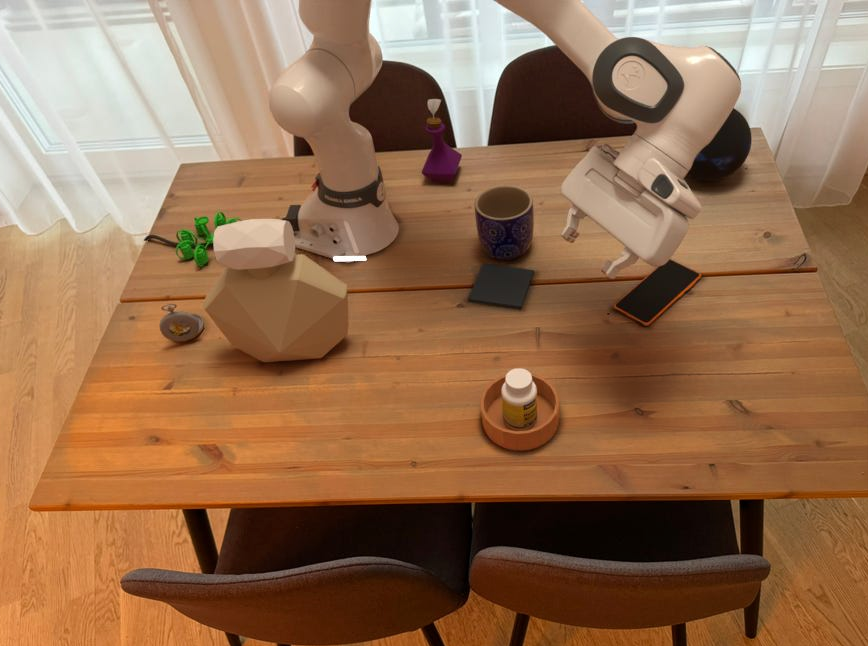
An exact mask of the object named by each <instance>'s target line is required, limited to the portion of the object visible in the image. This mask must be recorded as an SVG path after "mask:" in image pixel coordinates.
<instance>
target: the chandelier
mask: <svg viewBox="0 0 868 646" xmlns="http://www.w3.org/2000/svg"><path fill="white" fill-rule="evenodd" d="M237 220H238V221H243V220H242V219H241V218H240V217H231V218H230V219H228V220H227V218H226V216H225V213H224V212H223V211H217V212H216V213H215V215H214V217H213V224H214V228H215V229H214V231H213V233H212V234H210V231H209V229H208V227H207V224H209V221H210V219H209V217H208V216H207V215H206V216H204V215H203V216H200V217H198V216H195V217H194V221H193V223H194V228H195V230H196V232H197V234H198V235H200V236H204V237H198V236H196V235H197V234H195V233H194V232H192V231H191V230H189V229H186V228H181V229H178V230H177V232H176V234H175V237H176V239H177V241H178V243H179V244H178V245H177V246H175V255H176V256H177V257H178V258H179V259H180V260H183V261H187V260H190V259H193V258H194V262H195V264H196V266H197V267H204V266H205V265H206V264H207V263H208V262H209V257H208V250H207V248H208V247H209V246H208V244H209V243H213V238H214V232H215V230H216V228H217V227H218V226H222V225H226V224H230V223H234V222H238V221H237ZM179 233H180V234H179ZM198 240H204V241H201V242H199V243H198ZM202 243H207V245H206V246H205V247H204V246H203V245H200V244H202ZM192 244H194V245H195V247H194V250H193V247H191V246H190V245H192ZM196 244H197V245H196ZM200 246H201V247H200ZM179 249H180V252H181V254H182V256H183V257H182V256H180V255H179V252H178V250H179Z"/></svg>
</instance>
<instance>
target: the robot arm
mask: <svg viewBox="0 0 868 646" xmlns="http://www.w3.org/2000/svg"><path fill="white" fill-rule="evenodd" d="M492 1H493V2H495V3H496V4H498V5H500V6H501V7H503V8H505V9H506V10H508V11H509V12H511V13H513V14H515V15H517V16H518V17H520V18H522V19H523V20H525V21H526V22H528V23H530V24H531V25H532V26H534V27H536V29H538V30H539V31H540V32H542V33H543V34H544V35H545V36H546V37H547V38H548V39H550V41H551V42H552V43H553V44H554V45H555V46H556V47H557V48H558V49H559V50H560V51H561V52H562V53H563V54H564V55H565V56H566V57H567V58H568V59H569V60H570V61H571V62H572V63H573V64H574V65H575V66H576V67H577V68H578V69H579V71H580V72H581V73H582V74H583V75H584V76H585V78H586V79H587V81H588V83H589V85H590V88H591V91H592V93H593V98H594V100H595V103H596V104H597V106H598V108H599V110H600V111H601V112H602V113H603V114H604V115H605V116H606V117H607V118H608V119H610V120H612V121H614V122H616V123H618V124H625V125H627V124H628V125H629V124H630V125H631V124H635V125H636V129H635V131H634V132H633V134H632V135H631V136H630V137H629V139H628V141H627V142H626V143H625V145H624V146H623V148H622V149H621V151H619V150H616V149H614V148H613V147H612V146H611V145H610V144H608V143H603V144H596V145H593V146H592V147H591V148H590V149H589V150H588V152H587V154H586V155H585V156H583V158H581V160H580V161H579V162H578V163H577V164H576V166H575V167H574V168H573V169H572V170H571V171H570V172H569V174H568V175H567V176H566V178H565V179H564V180H563V182H562V183H561V186H560V195H561V196H563V197H564V199H566V200H568V202H570V203H571V204H572V205H571V207H570V208H569V210H568V212H567V218H566V225H565V227H564V228H563V229H562V231H561V233H560V237H562V238H563V240H565V242H568V243H570V244H574V242H575V241H576V239H577V238H578V237H579V236H580V232H579V231H578V227H579V223H580V220H584V219H585V218H586V216H587V217H588V218H590V219H591V220H592V221H593V222H595V223H596V224H597V225H598V226H599V227H601V228H602V229H603V230H604V231H606V232H607V233H608V234H609V235H611V236H612V238H614V239H616V241H618V242H619V243H620V244H622V245H623V246H624V248H623V249H622V251H621V253H620V255H622V256H621V257H619V258H618V259H616V260H614V261H610V260H607V261H606V262H605V263H604V266H602V267H601V272H602V273H603V274H604V275H605V276H606V277H607V278H609V279H611V280H614V279H615V278H616V277H618V275H619V274H620V272H621V271H622V270H624V269H626V268H628V267H630V266H632V265H634V264H636V263H637V262H638V261H639V259H640V260H642V261H643V262H644V263H646V264H647V265H649V266H651V267H653V268H657V267H659V266H662V265H664V264H666V263H667V262H668V261H669V259H671V258H672V257H673V255H674V254H675V253H676V251H677V250H678V249H679V247H680V246H681V244H682V242H683V241H684V239H685V237H686V236H687V234H688V231H689V228H690V222H689V219H691V220H693V219H694V220H695V218H697V217H698V216H699V214H700V213H701V211H702V209H703V208H702V205H701V203H700V201H699V200H698V198H697V196H696V195H695V194H694V192H693V190H691V188H690V186H689V184H688V183H687V181H686V179H684V178H685V177H687V175H688V174H687V173H688V171H689V170H690V169H691V167H692V164H693V162H694V159H695V157H696V156H697V154H698V153H699V152H700V151H701V150H702V149H703V148H704V147H705V146H707V145H708V144H709V143H710V142H711V141H712V139H713V138H714V136H715V135H716V134H717V132H718V131H719V130H720V128H721V127H722V125H723V124H724V122H725V121H726V119H727V118H728V116H729V115H730V113H731V111H732V110H733V108H734V109H735V106H736V104H737V102H738V100H739V97H740V95H741V92H742V82H741V77H740V75H739V73H738V72H737V70H736V68H735V67H734V66H733V65H732V64H731V62H730V61H729V60H727V58H725V57H724V55H722V54H721V53H720V52H718V51H717V50H716V49H714V48H712V47H711V46H708V45H701V46H693V47H692V46H691V47H688V46H686V47H685V46H674V45H668V44H664V43H660V42H659V43H658V42H655V41H654V40H653V41H652V40H649V39H646V38H642V37H637V36H626V37H622V38H618V37H616V36H615V35H614V34H613V32H611V30H609V29H608V28H607V27H606V25H605V24H603V22H602V21H601V20H600V19H599V18H598V17H597V16H596V15H595V14H594V13H593V11H591V10H590V9H589V8H588V7H587V6H586V5H585V4H584V3H583V2H582V1H581V0H492ZM372 2H373V0H298V16H299V19H300V21H301V23H302V24H303V26H304V27H305V28H306V29H307V30H308V32H309V33H310V34H312V35H313V39H312V42H311V44H310V45H309V48H308V49H307V50H306V52H305V53H303V54H302V55H301V56H300V57H299V58H298V59H296V60H295V61H294V62H292V63H291V64H290V65H289V66H288V67H286V68H285V69H284V70H283V71H282V72H281V74H280V75H279V76H278V77H277V79H276V80H275V82H274V83H273V85H272V86H271V88H270V89H269V91H268V95H267V105H268V109H269V112H270V115H271V116H272V118H273V120H274V121H275V122H276V124H277V125H278V126H279V127H280V129H282V130H284V131H285V132H287V133H288V134H290V135H292V136H295V137H298V138H303V139H304V140H305V142H307V143H308V145H309V146H310V148H311V150H312V153H313V155H314V158H315V159H314V160H315V163H316V166H317V169H318V171H319V173H317V174H316V176H315V178H314V181H313V183H312V184H311V186H310V188H311V189H312V190H311V193H310V194H308V196H307V197H306V198H305V199H304V201H303V202H302V204H289V208H288V211H287V213H286V216H285V217H283V218H281V219H280V220H285V221H289V222H290V224H291V226H292V228H293V233H294V238H295V249H296V248H297V249H300V250H303V251H306V252H310V253H313V254H316V255H320V256H322V257H326V258H328V259H332V260H333V261H334V262H343V263H346V264H349V263H353V262H354V261H355V262H357V261H358V262H359V261H367V257H366V256H368V255H371V254H375V253H377V252H380V251H382V250H384V249H385V248H387V247H389V245H391V244H392V243H393V242H394V241H395V240H396V238H397V236H398V234H399V231H400V227H399V223H398V221H397V220H396V218H395V217H394V214H393V212H392V210H391V207H390V205H389V203H388V200H387V196H386V186H385V182H384V178H383V177H384V176H383V173H382V169H381V166H380V165H379V164H378V160H377V155H376V150H375V145H374V141H373V140H374V139H373V137H372V134H371V133H370V131H369V130H368V129H367V128H366V127H364V125H361V124H360V123H358V122H355V121H352V120H351V118H350V107H351V105H352V104H353V103H354V102H355V101H356V100H357V99H359V98H360V96H361V95H363V94H364V93H365V92H366V91H367V90H368V89H369V88H370V87H371V85H372V84H373V82H374V81H375V79H376V78H377V76H378V74H379V72H380V71H381V69H382V66H383V57H384V56H383V52H382V48H381V46H380V44H379V42H378V41H377V39H376V38H375V36H374V35H372V33H371V32H370V16H371V10H372V4H373V3H372ZM687 170H688V171H687ZM150 239H154V240H158V241H160V242H162V243H165V244H167V245H170V246H174V247H177V245H178V244H179V243H180V242H175V241H172V240H168V239H166V238H164V237H162V236H159V235H156V234H149V235H146V237H144V238H143V241H144V242H148V241H149V240H150ZM197 244H198V243H196V245H197ZM200 245H203V246H204V247H206V245H207V242H204V243H202V244H200ZM190 246H191V247H192V248H196V247H195V245H194V244H192V245H190ZM209 246H214V245H213V243H209V244H208V246H207V247H209ZM199 248H202V247H201V246H200V247H199Z"/></svg>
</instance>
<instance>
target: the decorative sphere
mask: <svg viewBox="0 0 868 646" xmlns="http://www.w3.org/2000/svg"><path fill="white" fill-rule="evenodd" d="M752 140H753V138H752V130H751V126H750V124H749V122H748V120H747V119H746V117H745V116H744V115H743V114H742V113H741V112H740V111H739V110H737V109H736V108H735V107H734V108H733V110H732V111H731V113H730V115H729V116H728V118H727V119H726V121H725V122H724V124H723V125H722V127H721V128H720V130H719V131H718V132H717V134H716V135H715V136H714V138H713V139H712V141H711V142H710V143H709V144H708V145H707V146H705V147H704V148H703V149H702V150H701V151H700V152H699V153H698V154H697V156H696V157H695V159H694V162H693V164H692V167H691V169H690V170H689V171H688V170H687V171H688V173H687V174H686V175H687V176H689V177H690V178H693V179H695V180H699V181H702V182H715V181H720V180H724V179H727V178H728V177H730V176H731V175H733V174H735V173H736V172H737V171H738V170H739V169H740V168H741V167H742V166H743V164H745V162H746V160H747V158H748V156H749V154H750V151H751V147H752V142H753V141H752Z"/></svg>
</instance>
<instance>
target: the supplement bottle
mask: <svg viewBox="0 0 868 646" xmlns="http://www.w3.org/2000/svg"><path fill="white" fill-rule="evenodd" d="M530 373H531V372H530V371H528V369H526V368H520V367H518V368H516V367H515V368H513V369H511V370H509V371H508V372H507V373H506V374H507V375H506V374H505V375H506V377H505V383H504V384H503V386H502V390H501V394H502V409H503V419H504V422H505V424H506V425H507V426H508V427H510V428H511V429H514V430H526V429H529V428H530V427H532V426H533V425H534V424H535V422H536V420H537V388H536V385H535V383H534V382H533V381H532V375H531V374H532V373H531V374H530Z"/></svg>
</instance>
